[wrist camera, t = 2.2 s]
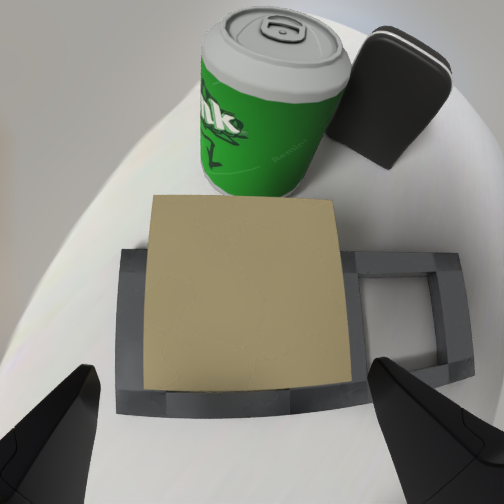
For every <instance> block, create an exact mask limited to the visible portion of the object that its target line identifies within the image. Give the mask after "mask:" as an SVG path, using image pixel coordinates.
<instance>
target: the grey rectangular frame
mask: <svg viewBox="0 0 504 504" xmlns="http://www.w3.org/2000/svg"><path fill="white" fill-rule="evenodd" d="M147 254H148V249H122V251H121V260H120V271H119V282H118V296H117V313H116V340H115V390H116V414H124V415H134V416H147V417H163V418H192V419H223V418H251V417H268V416H281V415H292V414H301V413H310V412H318V411H326V410H333V409H339V408H345V407H352V406H357V405H363V404H368V403H373V400H372V396H371V392H370V388H369V385H368V380H367V368H366V353H365V340H364V328H363V318H362V308H361V299H360V290H359V282H358V278H383V277H415V276H427V277H428V282H429V288H430V295H431V302H432V309H433V316H434V325H435V334H436V344H437V356H438V365H436V366H432V367H427V368H423V369H418V370H414V371H409V372H410V373H411V374H413V375H414V376H416V377H417V378H419V379H420V380H422V381H423V382H425V383H426V384H428V385H429V386H431V387H432V388H436V387H439V386H443V385H446V384H450V383H453V382H456V381H459V380H462V379H465V378H468V377H471V376H474V375H475V370H474V354H473V343H472V333H471V324H470V316H469V309H468V302H467V296H466V290H465V284H464V279H463V274H462V269H461V264H460V259H459V255H458V253H421V252H343V251H340V257H341V265H342V273H343V281H344V290H345V300H346V310H347V320H348V332H349V345H350V359H351V377H352V381H349V382H341V383H333V384H325V385H316V386H306V387H295V388H285V389H275V390H257V391H227V392H189V391H169V390H149V389H144V376H143V339H144V303H145V283H146V267H147Z"/></svg>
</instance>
